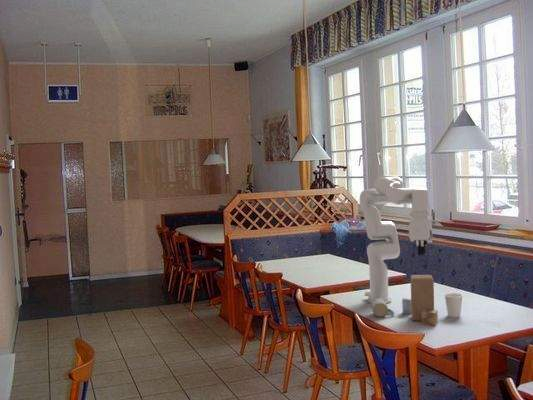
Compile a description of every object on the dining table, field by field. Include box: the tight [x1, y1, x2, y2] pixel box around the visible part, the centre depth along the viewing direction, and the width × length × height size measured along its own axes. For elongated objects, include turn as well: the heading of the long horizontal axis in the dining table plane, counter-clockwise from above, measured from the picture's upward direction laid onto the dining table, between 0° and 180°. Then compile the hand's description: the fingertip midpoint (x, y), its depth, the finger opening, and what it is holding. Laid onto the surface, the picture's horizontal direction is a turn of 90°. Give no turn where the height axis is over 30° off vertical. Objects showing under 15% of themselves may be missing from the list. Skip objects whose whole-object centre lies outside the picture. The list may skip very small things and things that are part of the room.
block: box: [410, 274, 435, 322], centre depth 281 cm, size 10×10×20 cm
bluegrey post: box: [401, 297, 412, 316], centre depth 292 cm, size 5×5×7 cm
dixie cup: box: [444, 292, 463, 318], centre depth 284 cm, size 8×8×10 cm
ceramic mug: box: [370, 298, 395, 318], centre depth 290 cm, size 11×8×8 cm
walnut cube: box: [421, 309, 439, 327], centre depth 272 cm, size 6×6×6 cm
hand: (421, 254), depth 279 cm, fingers closed
